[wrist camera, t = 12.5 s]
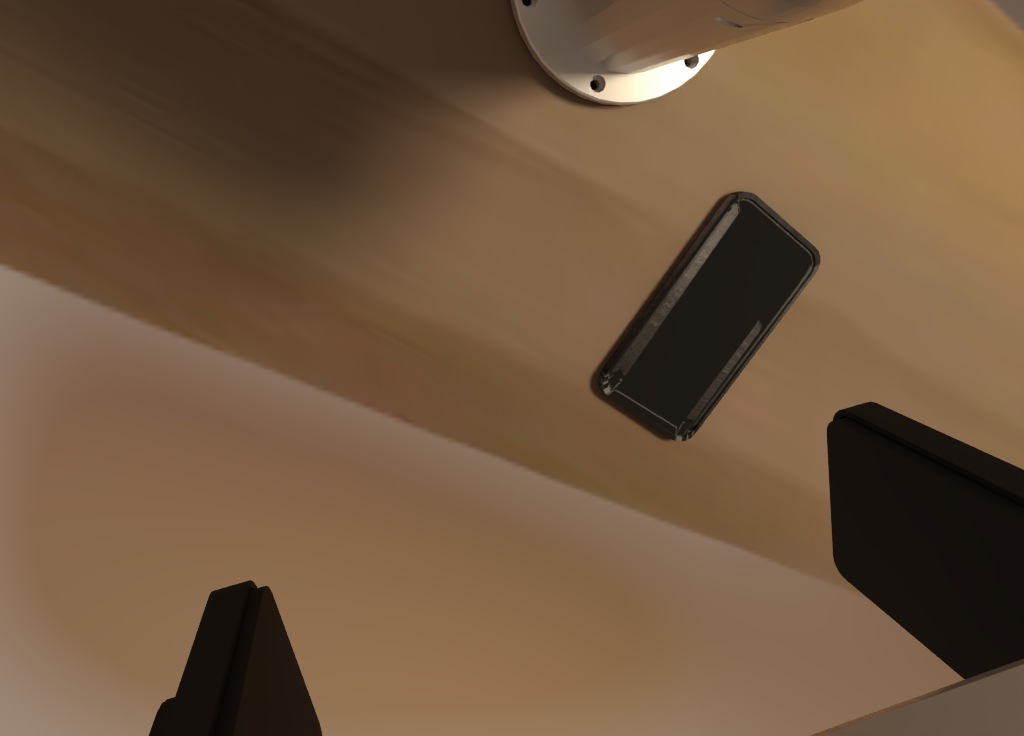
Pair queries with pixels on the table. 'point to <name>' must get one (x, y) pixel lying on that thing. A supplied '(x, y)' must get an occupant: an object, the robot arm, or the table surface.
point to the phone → (710, 317)
